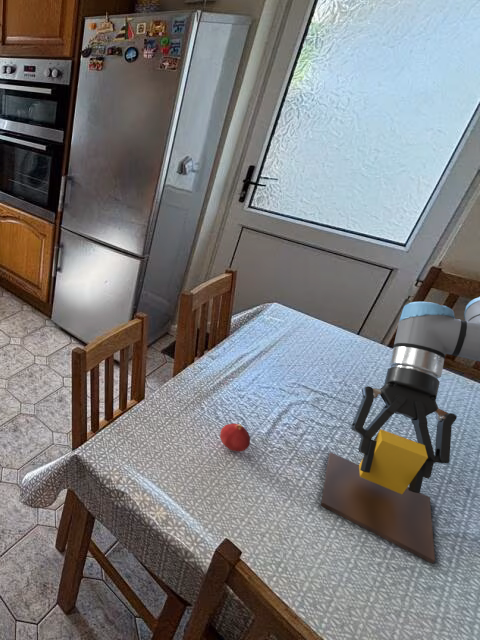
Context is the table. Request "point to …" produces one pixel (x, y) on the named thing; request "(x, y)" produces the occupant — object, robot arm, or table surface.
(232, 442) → the red round piece
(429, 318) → the robot arm
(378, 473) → the block
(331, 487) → the board
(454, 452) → the table surface
